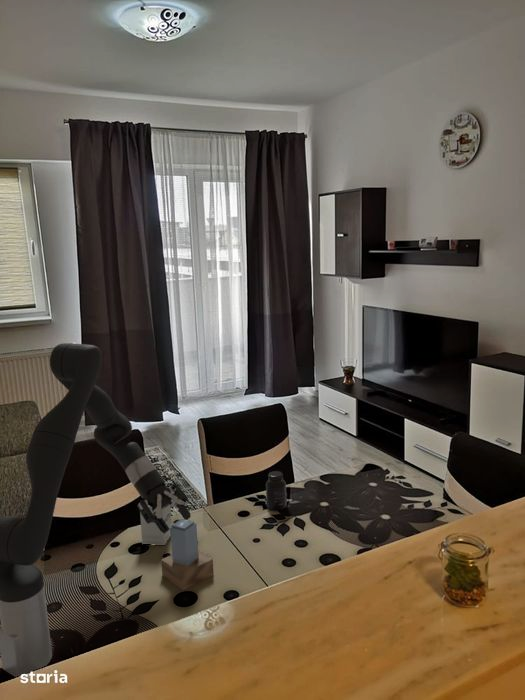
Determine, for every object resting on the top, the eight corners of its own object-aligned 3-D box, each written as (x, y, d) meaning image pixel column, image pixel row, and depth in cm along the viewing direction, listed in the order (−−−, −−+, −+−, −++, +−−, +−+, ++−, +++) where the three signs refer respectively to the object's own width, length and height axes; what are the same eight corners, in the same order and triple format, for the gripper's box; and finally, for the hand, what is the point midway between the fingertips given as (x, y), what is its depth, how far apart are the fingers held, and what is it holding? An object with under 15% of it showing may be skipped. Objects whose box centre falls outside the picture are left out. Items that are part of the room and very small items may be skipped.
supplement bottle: (263, 505, 194) (262, 472, 192) (281, 500, 197) (279, 468, 195) (272, 513, 188) (270, 479, 186) (290, 508, 191) (289, 475, 189)
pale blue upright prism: (187, 566, 149) (184, 529, 148) (172, 562, 152) (169, 525, 150) (198, 557, 154) (196, 521, 152) (184, 553, 156) (181, 517, 154)
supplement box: (164, 546, 169) (161, 507, 167) (141, 545, 171) (138, 506, 169) (173, 534, 176) (170, 496, 174) (151, 533, 178) (148, 495, 176)
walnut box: (183, 591, 147) (182, 574, 146) (162, 576, 154) (161, 559, 153) (213, 575, 154) (212, 559, 153) (192, 562, 161) (191, 545, 160)
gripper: (131, 478, 149) (166, 529, 145) (168, 461, 161) (202, 507, 156) (119, 493, 153) (152, 543, 149) (156, 475, 165) (188, 521, 160)
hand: (178, 525), depth 153 cm, fingers open, 8 cm apart
